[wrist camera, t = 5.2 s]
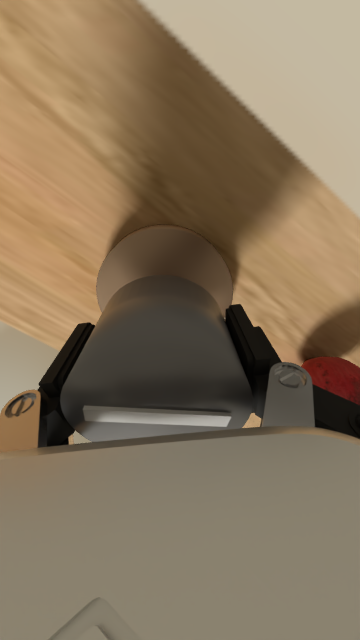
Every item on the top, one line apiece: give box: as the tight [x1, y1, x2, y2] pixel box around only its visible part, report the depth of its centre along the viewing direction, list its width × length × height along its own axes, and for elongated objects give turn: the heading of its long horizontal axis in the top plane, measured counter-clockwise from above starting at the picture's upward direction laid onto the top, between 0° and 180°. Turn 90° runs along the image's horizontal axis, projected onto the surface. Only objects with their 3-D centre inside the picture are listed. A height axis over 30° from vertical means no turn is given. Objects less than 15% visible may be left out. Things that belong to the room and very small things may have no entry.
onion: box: [301, 357, 360, 405], centre depth 17 cm, size 6×6×8 cm
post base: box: [96, 224, 233, 319], centre depth 14 cm, size 10×10×5 cm
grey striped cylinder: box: [60, 275, 253, 442], centre depth 10 cm, size 7×8×5 cm
